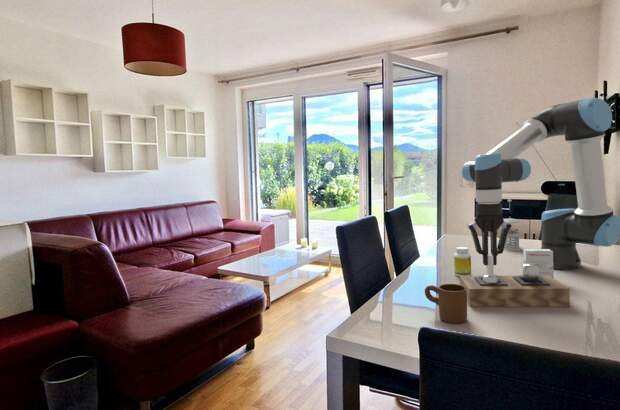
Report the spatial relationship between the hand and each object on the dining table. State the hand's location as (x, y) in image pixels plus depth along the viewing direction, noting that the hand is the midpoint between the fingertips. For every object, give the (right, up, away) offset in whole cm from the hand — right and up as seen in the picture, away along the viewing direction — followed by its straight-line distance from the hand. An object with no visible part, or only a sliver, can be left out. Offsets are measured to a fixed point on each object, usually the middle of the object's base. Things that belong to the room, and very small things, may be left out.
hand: (489, 274), depth 120 cm
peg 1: (+1, -6, +1) cm, 7 cm away
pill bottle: (+3, -6, +28) cm, 28 cm away
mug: (-19, -11, -12) cm, 24 cm away
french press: (+41, +1, +66) cm, 78 cm away
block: (+7, -8, 0) cm, 10 cm away
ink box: (+25, -5, +14) cm, 29 cm away
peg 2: (+12, -2, -2) cm, 12 cm away
